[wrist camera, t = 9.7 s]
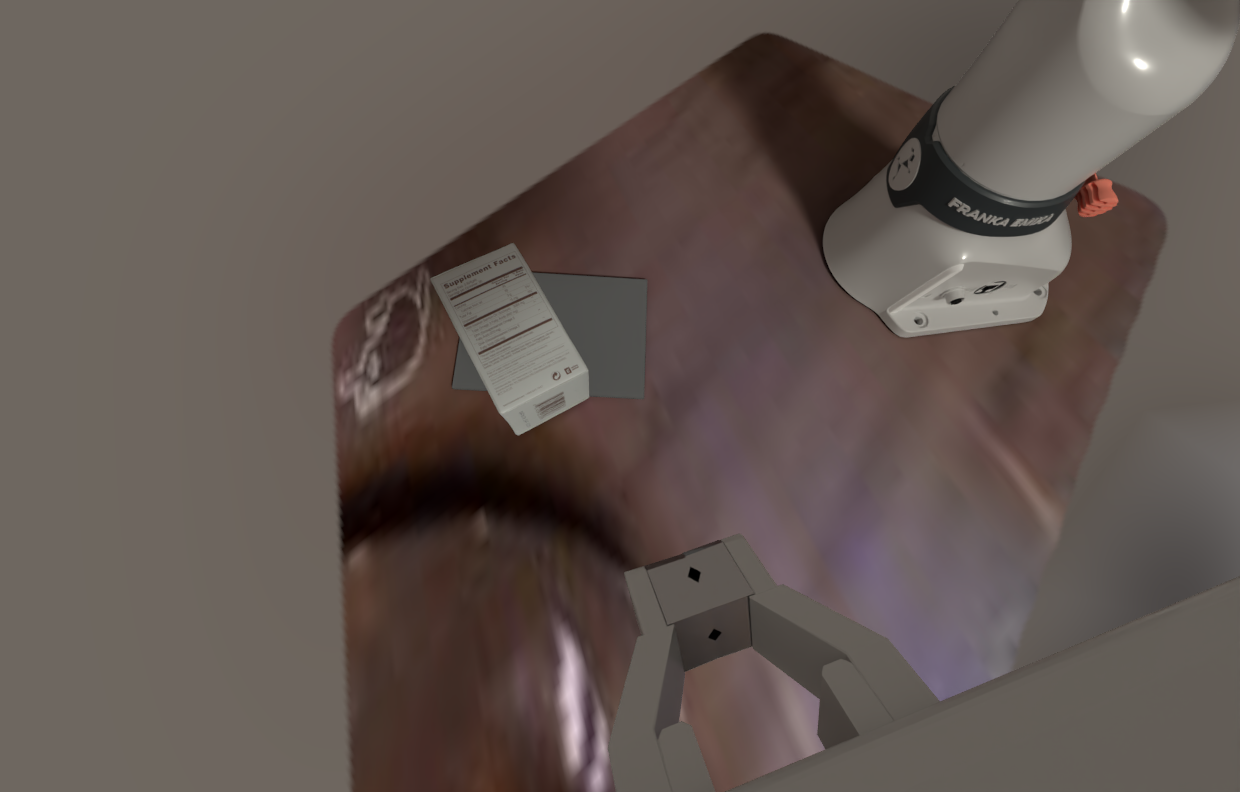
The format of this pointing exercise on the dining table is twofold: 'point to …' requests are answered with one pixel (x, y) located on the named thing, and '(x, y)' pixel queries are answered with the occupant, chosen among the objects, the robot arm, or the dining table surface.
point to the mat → (591, 332)
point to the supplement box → (513, 338)
